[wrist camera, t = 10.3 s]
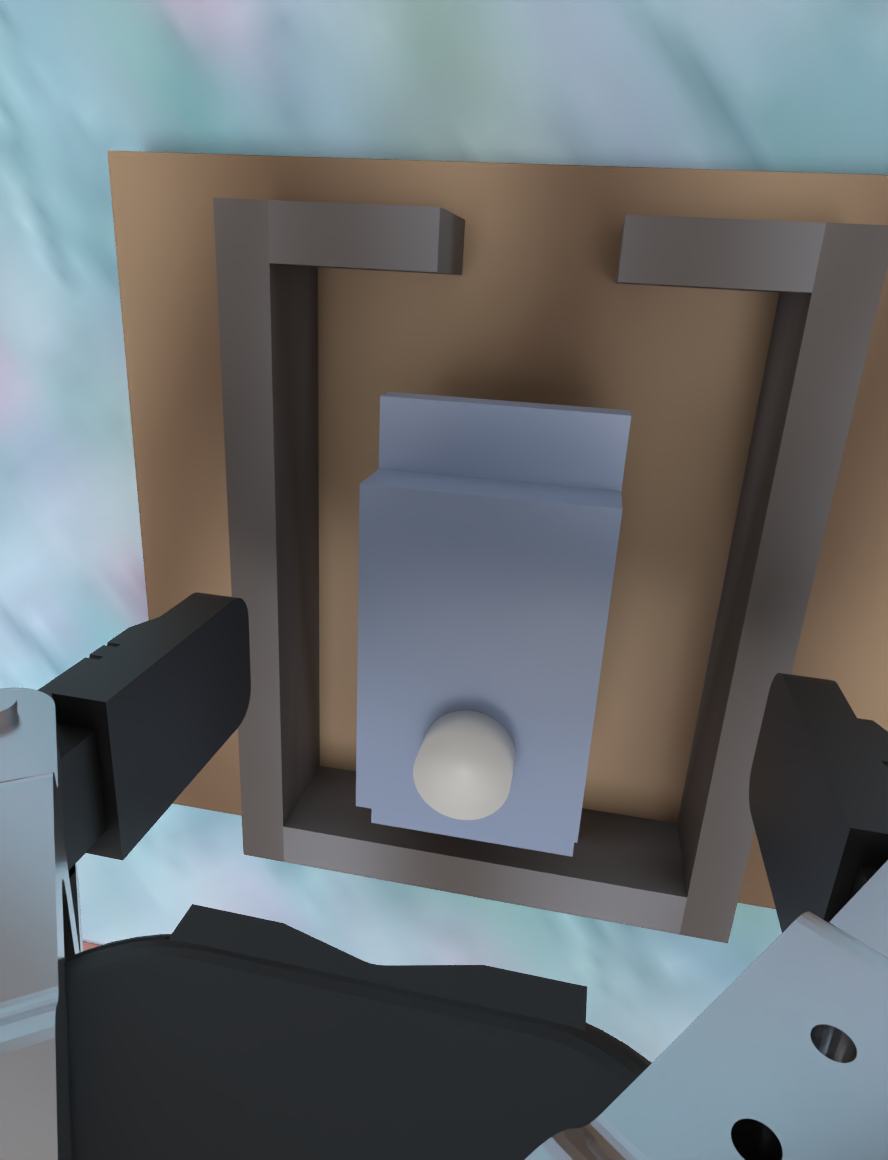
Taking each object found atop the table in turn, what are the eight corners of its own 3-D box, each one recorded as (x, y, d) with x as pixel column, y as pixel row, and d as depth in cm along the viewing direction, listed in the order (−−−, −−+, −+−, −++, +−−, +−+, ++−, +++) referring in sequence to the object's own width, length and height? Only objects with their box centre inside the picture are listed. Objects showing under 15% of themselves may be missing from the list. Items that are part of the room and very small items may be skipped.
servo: (625, 387, 16) (635, 436, 10) (578, 748, 19) (567, 931, 13) (429, 373, 16) (343, 412, 11) (415, 723, 19) (342, 889, 14)
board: (1039, 191, 15) (1187, 157, 11) (839, 880, 20) (891, 1011, 16) (147, 162, 17) (23, 126, 14) (191, 771, 23) (112, 862, 19)
